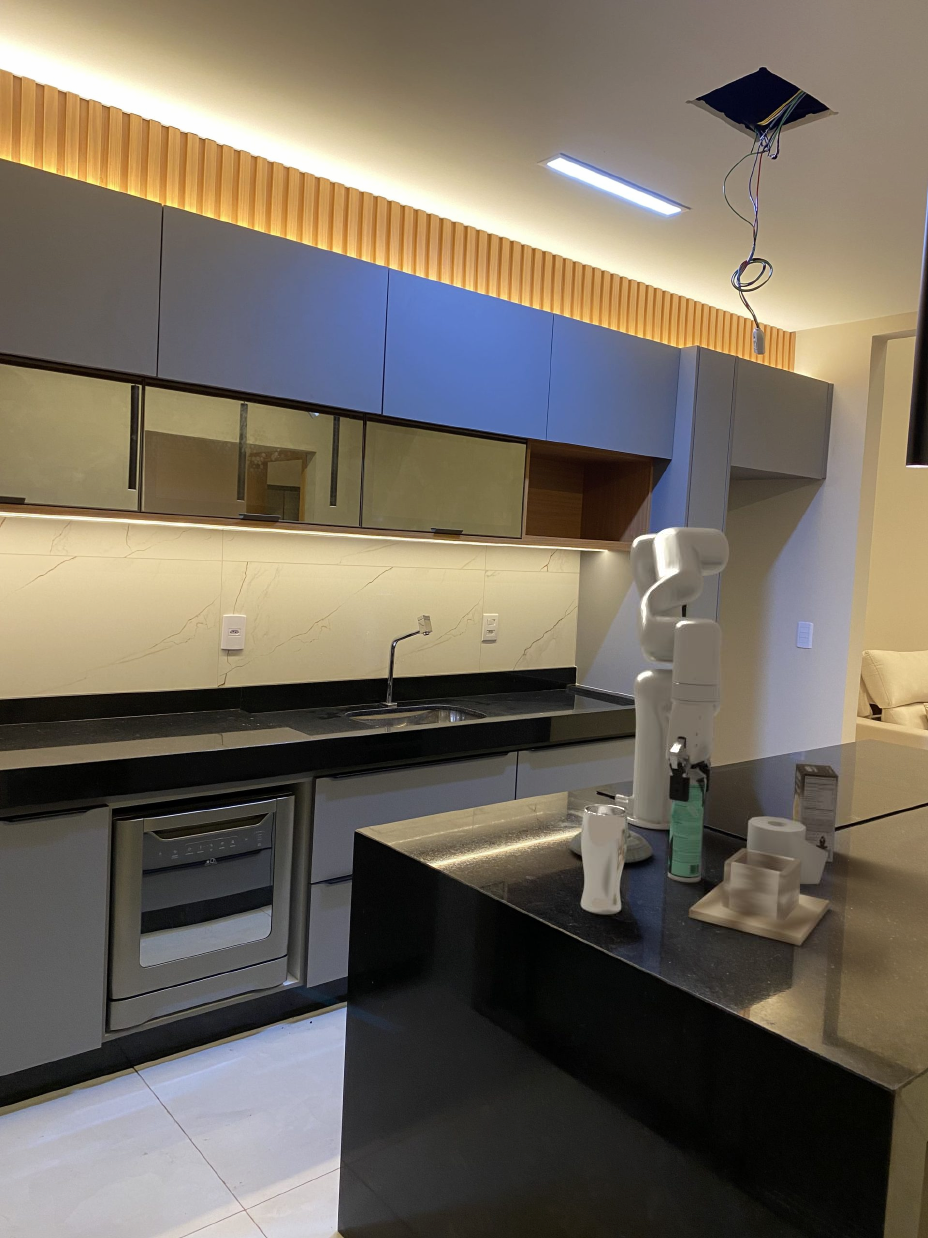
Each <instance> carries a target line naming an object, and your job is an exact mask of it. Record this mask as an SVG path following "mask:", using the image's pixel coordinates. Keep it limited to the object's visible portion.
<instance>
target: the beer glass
mask: <svg viewBox="0 0 928 1238" xmlns="http://www.w3.org/2000/svg"><path fill="white" fill-rule="evenodd" d="M627 813H628V811H627V808H624V807H622V806H618V805H615V804H614V805H613V804H603V803H602V804H601V803H597V804H596V803H594V804H588V805H586V806H584V808H583V814H582V823H581V830H580V832H581V850H582V856H581V857H582V858H581V859H582V865H583V875H584V877H583V878H584V885H583V892H582V895H581V900H580V907H581V908H582V909H583V910H585V911H587V912H589V913H592V914H595V915H614V914H618V913H619V912H620V911H621V910H622V902H621V895H620V894H621V892H620V887H621V877H622V873H623V869H624V865H625V863H624V861H625V856H626V851H627V842H628V830H629V825H628V823H629V822H628V817H627Z"/></svg>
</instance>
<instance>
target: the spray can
mask: <svg viewBox="0 0 928 1238" xmlns="http://www.w3.org/2000/svg"><path fill="white" fill-rule="evenodd" d="M684 767H685V765H683V768H684ZM688 777H690V790H689V801H688V802H682V801H676V800H672V805H671V823H670V830H669V841H668V842H669V843H668V844H669V845H668V859H667V860H668V861H667V862H668V863H667V864H668V865H667V876H668V877H669V879H671V880H673V881H677V882H682V883H697V882H699V881H701V878H702V863H703V848H704V847H703V846H704V832H705V831H704V828H705V813H706V812H705V810H706V797H707V796H706V794H707V792H706V779H705V778H706V775H705V774H703V773H702V772H701V771H699V768H698V767H697V766H696V764H691V767H690V771H689V774H688Z"/></svg>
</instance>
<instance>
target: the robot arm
mask: <svg viewBox="0 0 928 1238" xmlns="http://www.w3.org/2000/svg"><path fill="white" fill-rule="evenodd" d="M629 554H630V557H629V558H630V568H631V569H630V570H631V573H632V577H633V580H634V584H635V586H636V587H635V588H636V589H637V592H638V597H639V599H640V602H639V604H638V607H637V610H636V611H637V613H636V625H637V627H636V628H637V637H638V645H639V648H640V651H641V654H642V657H643V658H644V660H645V661H647V662H648V663H651V664H658V665H666V666H667V665H669V666H671V665H672V668H671V669H668V668H651V669H645V670H642V671H641V672H640V673H639V674H638V675H637V676H636V677H635V678H634V684H633V697H634V707H635V745H634V746H635V747H634V762H633V766H634V767H633V768H634V769H633V780H632V781H633V785H632V795H630V796H626V795H622V794H619V793H618V794H616V795H615V797H614V802H615V806H618V807H623V808H624V807H625V809H626V810H627V811H628V813H627V817H628V823H629V824H631V825H634V826H636V827H640V828H645V829H650V830H651V829H653V830H664V831H665V830H669V831H670V823H671V805H672V800H676V801H682V802H688V801H689V790H690V777H688V774H689V771H690V767H691V764H696V766H697V767H698V768H699V771H701V772H702V773H703V774H705V775H706V778H705V779H706V793H708V792H709V791H710V780H711V779H710V777H711V775H710V774H711V766H712V762H711V758H712V754H713V747H714V723H715V722H714V717H715V716H717V715H718V714H719V712H720V710H721V707H722V702H723V700H722V699H723V698H722V697H723V695H722V693H723V689H722V664H721V663H722V662H721V657H722V656H721V650H722V647H723V632H722V628H721V626H720V625H719V623H718V622H716V621H714V620H713V619H710V618H701V617H687V616H683V610H682V609H683V606H684V605H685V606H686V605H687V604H690V603H691V602H693V601H695V600H696V599H698V598H699V596H700V595H701V594H702V592H703V590H704V584H705V583H704V577H706V576H712V575H716V574H718V573H721V572H722V571H723V570H724V569H725V568H726V566H727V564H728V562H729V556H730V546H729V542H728V539H727V536H726V535H725V534H724V532H723V531H721V530H720V529H717V528H713V527H712V528H708V527H687V526H686V527H684V526H674V527H673V526H671V527H667V528H664V529H662V530H661V531H659V532H658V533H656V532H655V533H646V534H642V535H639V536H638V537H636V538H635V539H634V540H633V541H632V544H631V546H630V553H629ZM703 576H704V577H703ZM684 765H685V767H684V768H683V766H684Z"/></svg>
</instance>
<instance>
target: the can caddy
mask: <svg viewBox="0 0 928 1238" xmlns="http://www.w3.org/2000/svg"><path fill="white" fill-rule="evenodd" d="M801 861H802V860H799V859H794V858H789V857H784V856H779V855H774V854H770V853H765V852H760V851H755V850H750V849H747V848H745V847H742V848H740V850H738V851H736V852H735V853H734V854H733V855H731V857H729V858H727V859H726V860H725V861H724V867H723V870H724V871H723V881H722V882H720V883H719V884H718V885H716V886H715V887H714V888H713V889H711V891H710V892H708V893H706V895H704V896H703V897H702V898H701V899H700V900H698V901H697V902H696V903H695V904H693V906H691V907H690V908H689V909H688V918H691V919H695V920H699V921H703V922H707V923H711V924H715V925H717V926H722V927H727V928H729V929H734V930H737V931H742V932H744V933H749V934H754V935H757V936H760V937H766V938H768V939H773V940H777V941H779V942H780V941H781V942H785V943H788V944H791V945H796V946H801V945H802V944H803V942H804V941H805V940H806V939H807V937H808V936H809V935H810V933H812V931H813V930H814V928H815V927H816V926H817V925H818V923H819V922H820V920H821V919H822V918H823V916H824V915H825V914H826V913H827V912H828V910H829V909H830V900H828V899H827V900H826V899H823V898H819V897H814V896H810V895H805V894H801V893H800V891H801V890H800V889H801V884H800V876H801Z"/></svg>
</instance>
